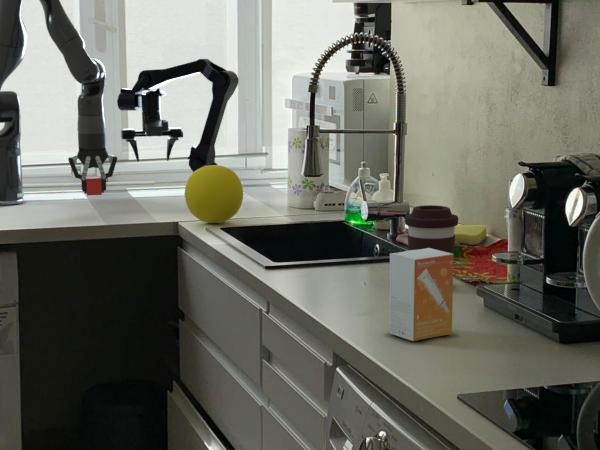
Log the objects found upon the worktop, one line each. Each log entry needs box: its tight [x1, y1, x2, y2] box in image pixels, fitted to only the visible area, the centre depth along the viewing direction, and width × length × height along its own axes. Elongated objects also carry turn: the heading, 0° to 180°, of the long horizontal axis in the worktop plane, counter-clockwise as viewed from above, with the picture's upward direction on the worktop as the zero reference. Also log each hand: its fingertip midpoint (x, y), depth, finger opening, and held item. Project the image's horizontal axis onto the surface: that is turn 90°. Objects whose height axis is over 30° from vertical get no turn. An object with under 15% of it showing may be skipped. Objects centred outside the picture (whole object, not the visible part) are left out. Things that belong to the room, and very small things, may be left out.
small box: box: [388, 248, 455, 342], centre depth 164 cm, size 8×6×13 cm
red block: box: [86, 175, 103, 196], centre depth 292 cm, size 4×5×5 cm
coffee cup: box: [404, 204, 459, 255], centre depth 197 cm, size 10×10×15 cm
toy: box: [184, 164, 244, 224], centre depth 272 cm, size 15×15×15 cm
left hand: (94, 192), depth 293 cm, fingers closed on red block, 4 cm apart
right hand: (152, 161), depth 326 cm, fingers open, 9 cm apart
